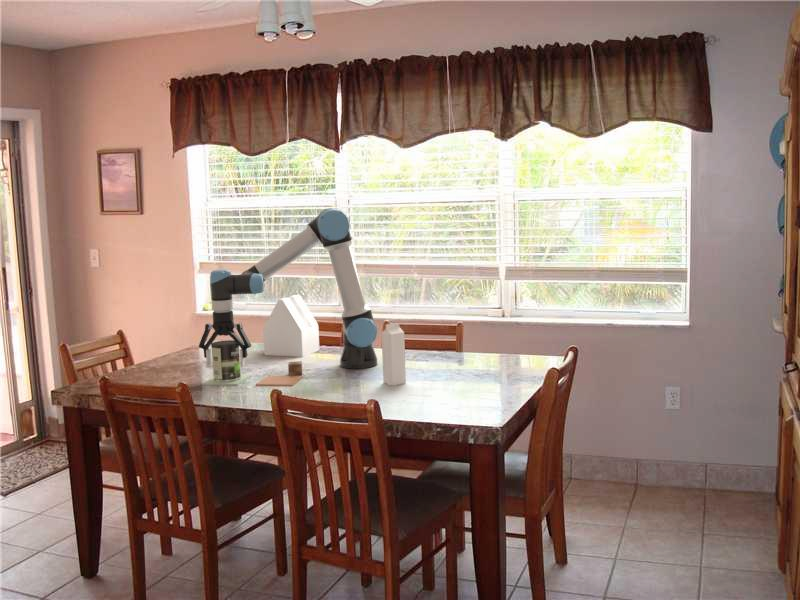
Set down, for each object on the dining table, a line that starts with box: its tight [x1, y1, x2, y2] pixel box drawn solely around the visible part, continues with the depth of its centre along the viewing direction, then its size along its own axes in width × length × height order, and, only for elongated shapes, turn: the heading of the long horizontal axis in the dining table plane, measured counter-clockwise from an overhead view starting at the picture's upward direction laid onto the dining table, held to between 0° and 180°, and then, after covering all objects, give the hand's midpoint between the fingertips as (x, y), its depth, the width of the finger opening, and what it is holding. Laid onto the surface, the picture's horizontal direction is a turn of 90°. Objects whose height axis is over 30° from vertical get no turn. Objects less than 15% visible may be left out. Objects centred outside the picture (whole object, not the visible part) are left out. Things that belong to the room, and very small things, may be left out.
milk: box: [381, 322, 407, 386], centre depth 285 cm, size 6×6×22 cm
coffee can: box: [210, 339, 242, 382], centre depth 298 cm, size 10×10×14 cm
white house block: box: [262, 294, 320, 358], centre depth 348 cm, size 19×15×25 cm
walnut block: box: [287, 360, 303, 376], centre depth 304 cm, size 5×5×5 cm
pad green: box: [201, 374, 252, 386], centre depth 298 cm, size 14×14×1 cm
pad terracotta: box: [255, 374, 304, 387], centre depth 295 cm, size 14×14×1 cm
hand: (226, 366), depth 298 cm, fingers open, 13 cm apart
